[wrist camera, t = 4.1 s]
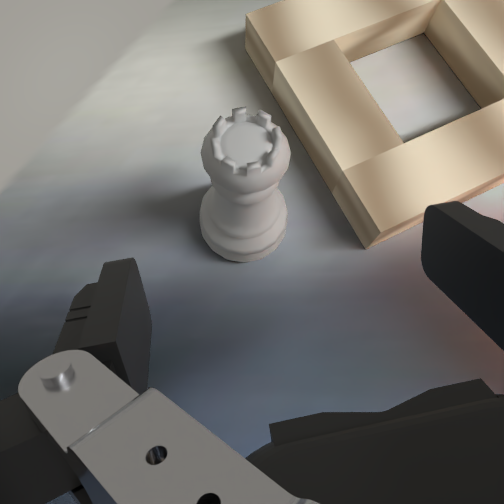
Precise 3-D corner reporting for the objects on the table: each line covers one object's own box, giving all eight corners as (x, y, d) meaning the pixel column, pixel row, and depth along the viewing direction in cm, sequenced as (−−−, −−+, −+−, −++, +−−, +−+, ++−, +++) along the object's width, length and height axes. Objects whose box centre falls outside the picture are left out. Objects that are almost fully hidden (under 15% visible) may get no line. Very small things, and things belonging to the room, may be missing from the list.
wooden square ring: (365, 249, 22) (380, 232, 20) (245, 48, 26) (245, 13, 24) (577, 146, 25) (613, 120, 22) (439, -25, 28) (457, -63, 26)
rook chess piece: (182, 224, 22) (153, 138, 15) (242, 169, 24) (245, 62, 16) (244, 283, 22) (248, 223, 14) (304, 223, 23) (337, 138, 15)
